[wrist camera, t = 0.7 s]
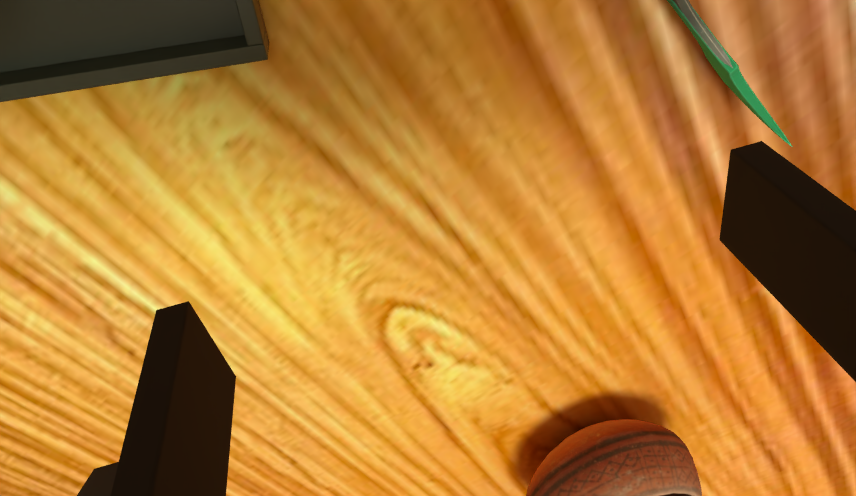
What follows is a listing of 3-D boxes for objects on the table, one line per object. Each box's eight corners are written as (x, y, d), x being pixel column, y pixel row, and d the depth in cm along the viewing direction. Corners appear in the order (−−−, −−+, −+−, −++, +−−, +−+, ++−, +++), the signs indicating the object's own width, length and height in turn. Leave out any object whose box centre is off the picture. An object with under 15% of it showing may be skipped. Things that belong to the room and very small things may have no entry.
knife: (555, -110, 30) (595, -96, 26) (585, -144, 30) (631, -136, 26) (738, 123, 41) (787, 157, 37) (763, 100, 40) (816, 133, 36)
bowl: (564, 505, 66) (602, 602, 58) (477, 454, 57) (507, 559, 49) (690, 429, 61) (749, 522, 54) (615, 361, 53) (672, 460, 45)
